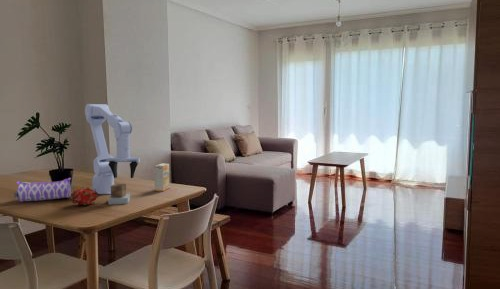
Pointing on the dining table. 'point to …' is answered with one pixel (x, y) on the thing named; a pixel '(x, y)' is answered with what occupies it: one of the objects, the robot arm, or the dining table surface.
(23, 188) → the pencil case
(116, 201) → the grey flat square block
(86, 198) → the dragon fruit
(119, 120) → the robot arm
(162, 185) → the supplement box
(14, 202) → the dining table surface
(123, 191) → the walnut cube
